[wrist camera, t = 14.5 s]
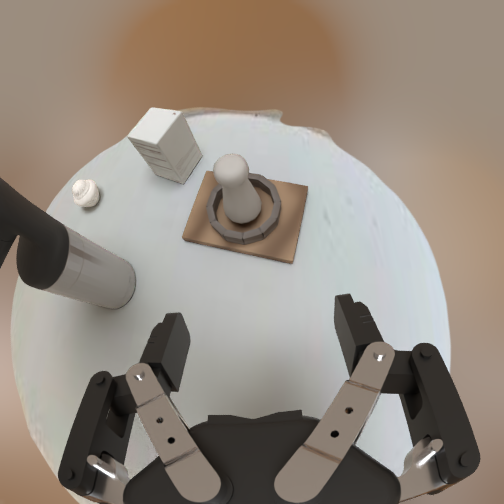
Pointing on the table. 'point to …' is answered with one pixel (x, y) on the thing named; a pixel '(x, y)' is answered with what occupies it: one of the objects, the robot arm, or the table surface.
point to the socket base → (254, 232)
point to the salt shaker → (237, 189)
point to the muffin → (85, 193)
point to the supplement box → (166, 144)
